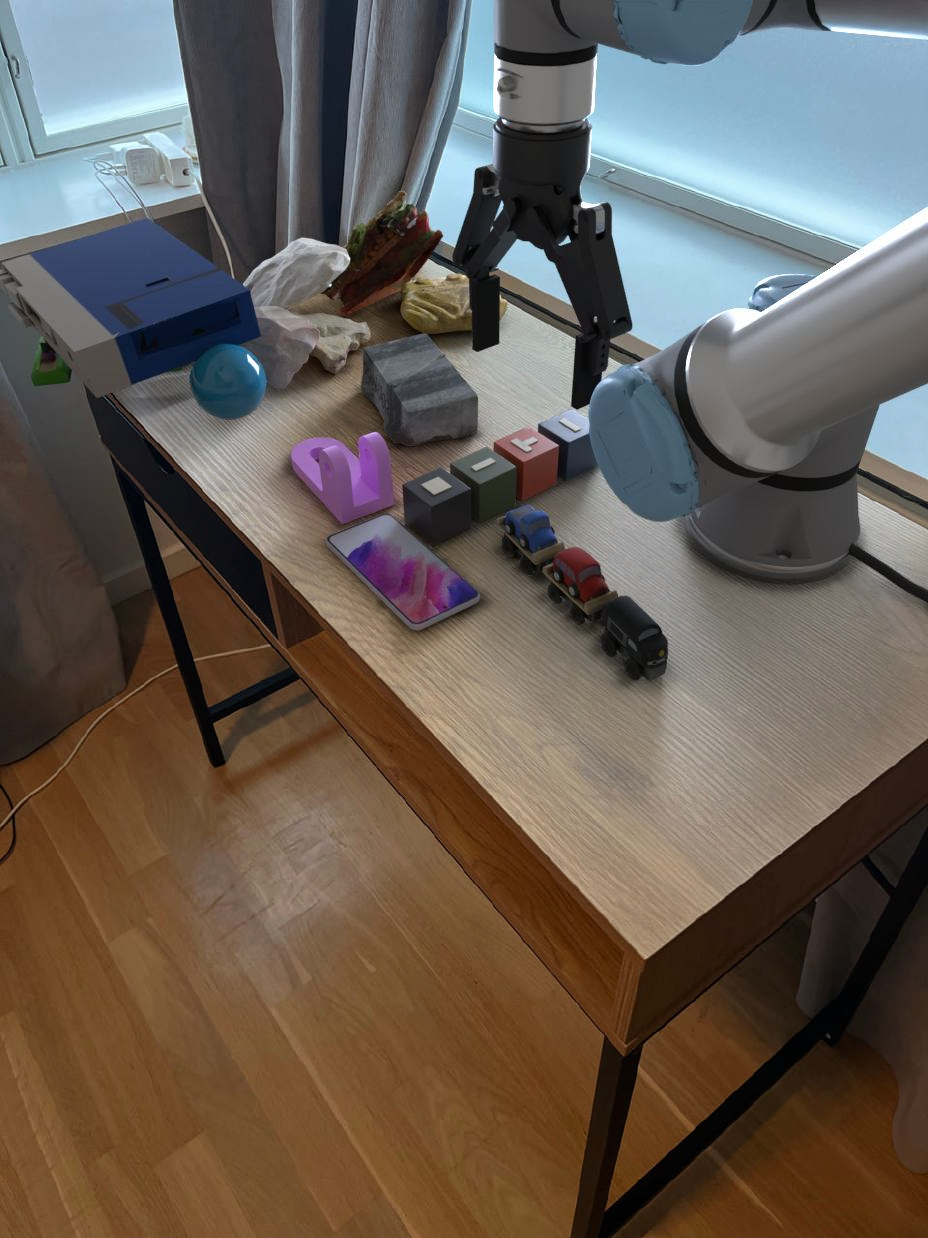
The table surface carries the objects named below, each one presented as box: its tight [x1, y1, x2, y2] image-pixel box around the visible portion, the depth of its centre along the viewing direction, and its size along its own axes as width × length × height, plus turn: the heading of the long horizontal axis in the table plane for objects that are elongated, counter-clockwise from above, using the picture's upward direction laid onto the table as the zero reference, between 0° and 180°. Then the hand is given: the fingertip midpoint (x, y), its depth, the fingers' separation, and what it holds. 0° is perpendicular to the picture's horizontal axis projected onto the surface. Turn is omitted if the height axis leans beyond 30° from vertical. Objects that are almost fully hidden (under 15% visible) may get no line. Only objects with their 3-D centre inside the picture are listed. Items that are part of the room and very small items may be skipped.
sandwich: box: [319, 190, 444, 317], centre depth 122 cm, size 16×12×8 cm
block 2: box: [449, 446, 517, 524], centre depth 92 cm, size 4×4×5 cm
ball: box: [189, 344, 268, 421], centre depth 103 cm, size 8×8×8 cm
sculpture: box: [400, 272, 509, 335], centre depth 122 cm, size 13×4×15 cm
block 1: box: [401, 466, 472, 547], centre depth 89 cm, size 4×4×5 cm
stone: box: [286, 308, 371, 375], centre depth 115 cm, size 13×4×10 cm
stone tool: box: [239, 306, 320, 390], centre depth 111 cm, size 9×5×15 cm
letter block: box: [492, 426, 559, 502], centre depth 94 cm, size 4×4×5 cm
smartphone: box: [325, 512, 481, 632], centre depth 85 cm, size 7×1×15 cm
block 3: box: [537, 408, 599, 482], centre depth 97 cm, size 4×4×5 cm
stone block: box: [360, 333, 479, 447], centre depth 104 cm, size 9×14×5 cm, turn 24°
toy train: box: [495, 504, 669, 682], centre depth 81 cm, size 4×22×5 cm, turn 31°
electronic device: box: [0, 217, 261, 399], centre depth 108 cm, size 20×5×30 cm
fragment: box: [242, 237, 350, 309], centre depth 119 cm, size 15×20×5 cm
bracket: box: [290, 431, 395, 525], centre depth 94 cm, size 13×6×7 cm, turn 33°
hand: (533, 373), depth 87 cm, fingers open, 13 cm apart
